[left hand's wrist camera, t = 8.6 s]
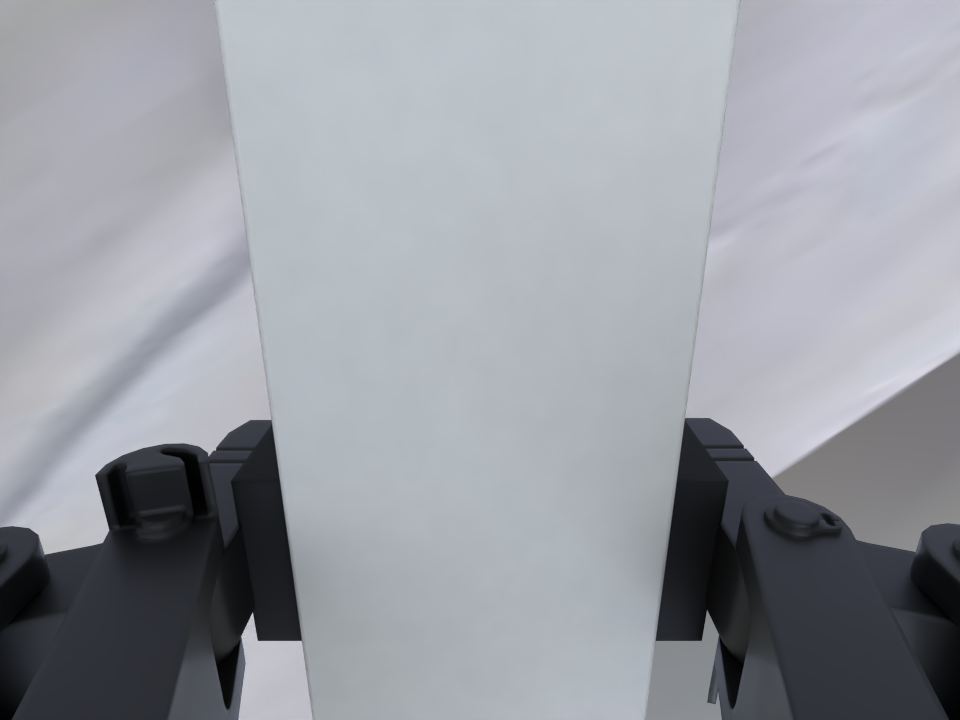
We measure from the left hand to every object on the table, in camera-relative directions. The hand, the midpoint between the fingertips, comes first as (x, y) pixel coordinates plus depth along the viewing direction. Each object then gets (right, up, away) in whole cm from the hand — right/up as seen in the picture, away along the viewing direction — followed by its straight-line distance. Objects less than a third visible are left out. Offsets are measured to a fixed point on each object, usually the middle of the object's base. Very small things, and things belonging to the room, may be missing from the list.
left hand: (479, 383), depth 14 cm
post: (0, +24, -8) cm, 25 cm away
